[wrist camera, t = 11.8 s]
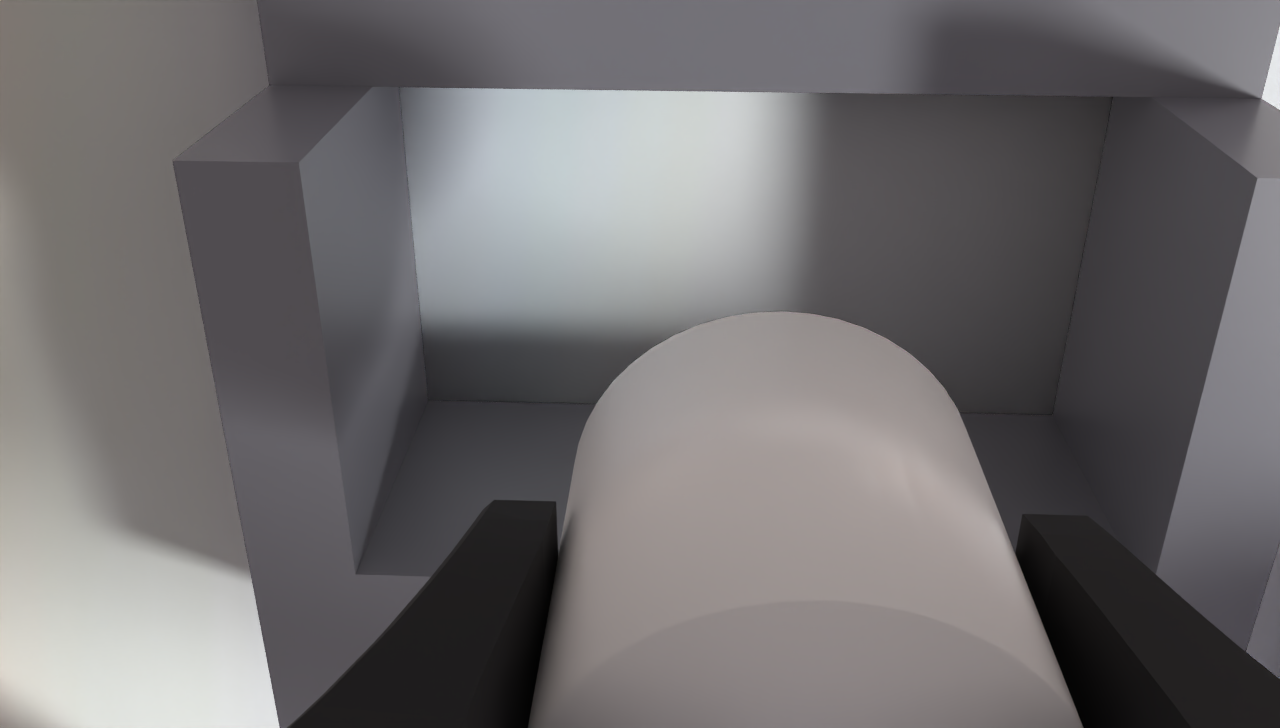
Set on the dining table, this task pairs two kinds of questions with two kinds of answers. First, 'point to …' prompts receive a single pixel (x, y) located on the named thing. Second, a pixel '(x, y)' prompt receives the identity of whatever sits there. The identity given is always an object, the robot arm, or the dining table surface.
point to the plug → (787, 548)
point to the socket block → (550, 432)
